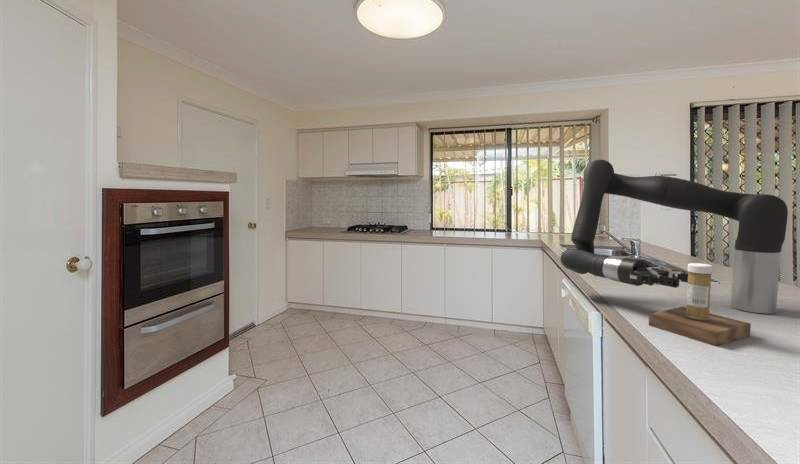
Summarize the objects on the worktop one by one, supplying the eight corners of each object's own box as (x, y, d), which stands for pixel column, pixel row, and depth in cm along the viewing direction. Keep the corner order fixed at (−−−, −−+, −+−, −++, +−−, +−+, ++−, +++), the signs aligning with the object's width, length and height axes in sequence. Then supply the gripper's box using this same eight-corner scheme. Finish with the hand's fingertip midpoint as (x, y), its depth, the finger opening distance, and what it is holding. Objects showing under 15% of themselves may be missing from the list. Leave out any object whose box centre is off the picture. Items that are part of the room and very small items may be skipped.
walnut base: (681, 317, 93) (682, 306, 93) (749, 335, 80) (750, 323, 80) (648, 325, 88) (649, 313, 88) (715, 346, 75) (716, 332, 75)
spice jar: (712, 318, 83) (715, 264, 82) (705, 322, 81) (709, 266, 79) (688, 313, 87) (691, 261, 86) (681, 317, 85) (684, 264, 83)
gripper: (608, 259, 97) (672, 269, 82) (641, 255, 102) (706, 264, 87) (607, 285, 98) (670, 299, 83) (640, 280, 103) (704, 293, 88)
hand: (689, 281), depth 85 cm, fingers open, 8 cm apart
